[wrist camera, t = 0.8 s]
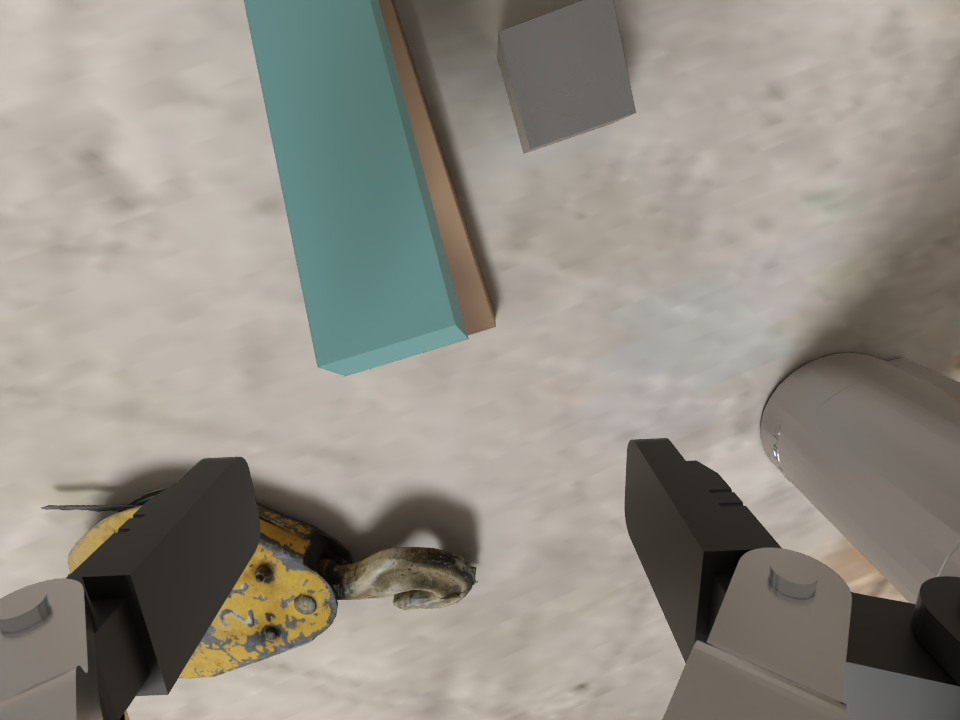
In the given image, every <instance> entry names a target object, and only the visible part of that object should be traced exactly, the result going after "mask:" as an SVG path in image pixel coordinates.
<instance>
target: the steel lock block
mask: <svg viewBox="0 0 960 720" xmlns="http://www.w3.org/2000/svg"><path fill="white" fill-rule="evenodd" d="M497 58H498V61H499V65H500V69H501V72H502V76H503V80H504V83H505V87H506V91H507V94H508V98H509V102H510V105H511V109H512V112H513V116H514V120H515V123H516V127H517V131H518V134H519V138H520V142H521V145H522V149H523V153H527V152H530V151H533V150H536V149H539V148H542V147H545V146H548V145H551V144H554V143H557V142H559V141H562V140H565V139H568V138H571V137H574V136H577V135H580V134H583V133H586V132H589V131H592V130H594V129H597V128H600V127H603V126H606V125H609V124H612V123H614V122H616V121H619V120H621V119H623V118H625V117H628V116H630V115H632V114H634V113H636V111H635V106H634V101H633V96H632V91H631V86H630V81H629V76H628V71H627V66H626V62H625V57H624V52H623V47H622V42H621V37H620V32H619V27H618V22H617V17H616V12H615V7H614V2H613V0H582V1H579V2H577V3H574V4H571V5H569V6H566V7H563V8H561V9H558V10H555V11H553V12H550V13H547V14H545V15H542V16H539V17H537V18H534V19H531V20H529V21H526V22H523V23H521V24H518V25H515V26H513V27H510V28H507V29H505V30H502V31H499V33H498V51H497Z"/></svg>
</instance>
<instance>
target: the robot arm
mask: <svg viewBox="0 0 960 720" xmlns="http://www.w3.org/2000/svg"><path fill="white" fill-rule="evenodd" d="M761 440H762V444H763V447H764V450H765V452H766V454H767V456H768V457H769V459H770V460H771V462H772V463H773V464H774V465H775V466H776V467H777V468H778V469H779V470H780V471H781V472H782V474H783V475H784V476H785V477H786V478H787V479H788V480H789V481H791V482H792V483H793V484H794V485H795V486H796V487H797V488H798V490H799V491H800V492H801V493H802V494H803V495H804V496H805V497H806V498H807V499H808V500H809V501H810V502H811V503H812V504H813V505H814V506H815V507H816V508H817V509H818V510H819V511H820V512H821V513H822V514H823V515H824V516H825V517H826V518H827V519H828V520H829V521H830V522H831V523H832V524H833V525H834V526H835V527H836V528H837V529H838V530H839V532H840V533H841V534H842V535H843V536H844V537H845V538H846V539H847V540H848V541H849V542H850V543H851V544H852V545H853V546H854V547H855V548H856V549H857V550H858V551H859V552H860V553H861V554H862V555H863V556H864V557H865V558H866V559H867V560H868V561H869V562H870V563H871V564H872V565H873V566H874V567H875V568H876V569H877V570H878V571H879V572H880V573H881V574H882V575H883V576H884V577H885V578H886V579H887V580H888V581H889V582H890V583H891V584H892V585H893V586H894V587H895V588H896V589H897V590H898V591H899V592H900V593H901V594H902V595H903V597H904V598H905V599H906V600H907V601H908V602H909V603H906V602H901V601H895V600H889V599H884V598H878V597H873V596H867V595H862V594H858V593H853V592H850V589H849V587H848V585H847V584H846V582H845V581H844V580H843V579H842V578H841V577H840V576H839V575H838V574H837V573H836V572H835V571H834V570H832V569H831V568H830V567H828V566H827V565H825V564H823V563H822V562H820V561H818V560H816V559H814V558H812V557H810V556H807V555H805V554H802V553H799V552H795V551H792V550H787V549H782V548H781V547H780V545H779V544H778V543H777V542H776V541H775V540H774V538H773V537H772V536H771V535H770V534H769V533H768V531H767V530H766V529H765V528H764V527H763V526H762V524H761V523H760V522H759V521H758V520H757V519H756V517H755V516H754V515H753V514H752V513H751V511H750V510H749V509H748V508H747V507H746V506H743V502H742V501H741V500H740V499H739V497H738V496H737V495H736V494H735V493H734V492H732V490H731V488H730V487H729V486H728V485H727V483H726V482H725V481H724V480H723V479H722V477H721V476H720V475H719V474H718V473H716V472H715V471H713V470H711V469H710V468H708V467H706V466H705V465H703V464H701V463H700V462H698V461H685V459H684V458H683V457H682V456H681V454H680V453H679V452H678V450H677V449H676V448H675V446H674V445H673V444H672V443H671V441H670V440H669V439H667V438H659V439H637V440H630V441H629V443H628V448H627V464H626V486H625V519H626V525H627V529H628V533H629V536H630V538H631V541H632V543H633V545H634V547H635V550H636V552H637V554H638V557H639V559H640V561H641V563H642V566H643V568H644V570H645V572H646V575H647V577H648V579H649V581H650V584H651V586H652V588H653V590H654V593H655V595H656V597H657V599H658V602H659V604H660V606H661V608H662V611H663V613H664V615H665V618H666V620H667V622H668V624H669V627H670V629H671V631H672V633H673V636H674V638H675V640H676V642H677V645H678V647H679V649H680V651H681V654H682V656H683V658H684V660H685V663H686V665H685V667H684V670H683V672H682V674H681V677H680V679H679V681H678V684H677V686H676V689H675V691H674V693H673V696H672V698H671V700H670V703H669V705H668V708H667V710H666V712H665V715H664V717H663V719H662V720H960V382H957V381H955V380H953V379H951V378H948V377H946V376H944V375H941V374H939V373H937V372H934V371H932V370H930V369H928V368H925V367H923V366H921V365H918V364H916V363H914V362H912V361H909V360H907V359H905V358H899V359H895V360H890V361H885V360H881V359H878V358H875V357H873V356H870V355H867V354H859V353H839V354H833V355H829V356H825V357H821V358H818V359H816V360H814V361H812V362H810V363H807V364H805V365H803V366H802V367H800V368H799V369H797V370H796V371H795V372H793V373H792V374H790V375H789V376H788V377H787V378H786V379H785V380H784V381H783V382H782V383H781V384H780V385H779V386H778V387H777V389H776V390H775V391H774V393H773V394H772V396H771V397H770V399H769V401H768V403H767V405H766V407H765V410H764V412H763V417H762V421H761ZM259 538H260V519H259V514H258V509H257V504H256V500H255V495H254V490H253V485H252V481H251V476H250V471H249V467H248V464H247V462H246V460H245V459H244V458H242V457H225V458H205V459H202V460H201V461H199V462H198V463H197V464H196V465H195V466H194V467H193V468H192V469H191V470H190V471H189V472H188V473H187V474H186V475H185V476H184V477H183V478H182V479H181V480H180V481H179V482H178V483H176V484H174V485H172V486H170V487H169V488H167V489H165V490H164V491H162V492H160V493H159V494H157V495H155V496H153V497H152V498H150V499H149V500H148V501H147V502H146V503H145V504H144V505H143V506H142V507H141V508H140V509H139V510H138V511H136V512H135V513H134V514H133V518H129V519H128V520H127V521H126V522H125V523H124V524H123V525H122V526H121V527H120V528H119V529H118V532H117V533H113V534H112V535H111V536H110V537H109V538H108V539H107V540H106V541H105V542H104V543H103V544H102V545H101V546H99V547H98V548H97V549H96V550H95V551H94V552H93V553H92V554H91V555H90V556H89V557H88V558H87V559H86V560H85V561H84V562H83V563H82V564H80V565H79V566H78V567H77V568H76V569H75V570H74V571H73V572H72V573H71V574H70V575H69V576H68V577H67V578H66V579H53V580H47V581H43V582H39V583H36V584H33V585H30V586H27V587H24V588H22V589H19V590H17V591H15V592H13V593H10V594H8V595H6V596H4V597H3V598H1V599H0V720H130V719H129V716H128V714H127V711H126V709H127V708H128V706H129V705H130V703H131V702H132V700H133V699H134V698H135V696H148V695H168V694H169V692H170V691H171V689H172V687H173V686H174V684H175V682H176V681H177V679H178V678H179V676H180V674H181V673H182V671H183V669H184V668H185V666H186V664H187V663H188V661H189V660H190V658H191V656H192V655H193V653H194V651H195V650H196V648H197V646H198V645H199V643H200V642H201V640H202V638H203V637H204V635H205V633H206V632H207V630H208V628H209V627H210V625H211V624H212V622H213V620H214V619H215V617H216V615H217V614H218V612H219V610H220V609H221V607H222V606H223V604H224V602H225V601H226V599H227V597H228V596H229V594H230V592H231V591H232V589H233V588H234V586H235V584H236V583H237V581H238V579H239V578H240V576H241V574H242V573H243V571H244V570H245V568H246V566H247V565H248V563H249V561H250V560H251V558H252V556H253V555H254V553H255V551H256V549H257V546H258V543H259Z"/></svg>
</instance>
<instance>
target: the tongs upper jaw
mask: <svg viewBox="0 0 960 720" xmlns="http://www.w3.org/2000/svg"><path fill="white" fill-rule="evenodd" d="M244 3H245V8H246V13H247V18H248V23H249V28H250V33H251V38H252V43H253V48H254V53H255V58H256V63H257V68H258V73H259V78H260V83H261V88H262V93H263V98H264V103H265V108H266V113H267V118H268V123H269V128H270V133H271V138H272V143H273V148H274V153H275V158H276V162H277V167H278V172H279V177H280V182H281V187H282V192H283V197H284V202H285V207H286V212H287V217H288V222H289V227H290V232H291V237H292V242H293V247H294V252H295V257H296V262H297V267H298V272H299V277H300V282H301V287H302V292H303V297H304V302H305V307H306V312H307V317H308V322H309V327H310V332H311V337H312V342H313V347H314V352H315V357H316V362H317V367H318V368H322V369H325V370H328V371H331V372H334V373H337V374H340V375H344V376H348V375H351V374H354V373H358V372H361V371H364V370H368V369H371V368H374V367H378V366H381V365H384V364H387V363H391V362H394V361H397V360H401V359H404V358H407V357H411V356H414V355H417V354H420V353H424V352H427V351H430V350H434V349H437V348H440V347H444V346H447V345H450V344H453V343H457V342H460V341H463V340H467V339H469V338H468V335H467V331H466V327H465V324H464V320H463V316H462V312H461V309H460V305H459V301H458V297H457V294H456V290H455V286H454V282H453V279H452V275H451V271H450V267H449V264H448V260H447V256H446V252H445V249H444V245H443V241H442V237H441V234H440V230H439V226H438V222H437V219H436V215H435V211H434V207H433V204H432V200H431V196H430V192H429V189H428V185H427V181H426V177H425V174H424V170H423V166H422V162H421V159H420V155H419V151H418V147H417V144H416V140H415V136H414V132H413V129H412V125H411V121H410V117H409V114H408V110H407V106H406V102H405V99H404V95H403V91H402V87H401V84H400V80H399V76H398V72H397V69H396V65H395V61H394V57H393V54H392V50H391V46H390V43H389V39H388V35H387V31H386V28H385V24H384V20H383V16H382V13H381V9H380V5H379V1H378V0H244Z"/></svg>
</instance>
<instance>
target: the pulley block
mask: <svg viewBox="0 0 960 720" xmlns="http://www.w3.org/2000/svg"><path fill="white" fill-rule="evenodd" d="M167 488H169V487H167ZM167 488H162V489H157V490H154V491H151V492H148V493H146V494H143V495H141V496H138V497H136V498H135V499H133V500H132V501H130V502H128V503H127V504H125V505H65V506H54V505H49V506H45V507H42V508H43V509H60V510H73V509H79V510H90V511H108V510H111V511H117V512H116V513H115V514H113V515H111V516H109V517H107V518H105V519H103V520H101V521H100V522H99V523H97V524H96V525H95V526H94V527H92V528H91V529H90V530H89V531H88V532H87V533H86V534H85V535H84V536H83V537H82V538H81V539H80V540H79V541H78V542H77V543H76V545H75V546H74V547H73V549H72V550H71V552H70V553H69V555H68V565H69V569H70V574H71V573H72V572H73V571H74V570H75V569H76V568H77V567H78V566H79V565H80V564H82V563H83V562H84V561H85V560H86V559H87V558H88V557H89V556H90V555H91V554H92V553H93V552H94V551H95V550H96V549H97V548H98V547H99V546H101V545H102V544H103V543H104V542H105V541H106V540H107V539H108V538H109V537H110V536H111V535H112V534H113V533H117V532H118V529H119V528H120V527H121V526H122V525H123V524H124V523H125V522H126V521H127V520H128V519H129V518H133V514H134V513H135V512H136V511H138V510H139V509H140V508H141V507H142V506H143V505H144V504H145V503H146V502H147V501H148V500H149V499H150V498H152V497H153V496H155V495H157V494H159V493H160V492H162V491H164V490H165V489H167ZM257 509H258V514H259V519H260V538H259V543H258V546H257V549H256V551H255V553H254V555H253V556H252V558H251V560H250V561H249V563H248V565H247V566H246V568H245V570H244V571H243V573H242V574H241V576H240V578H239V579H238V581H237V583H236V584H235V586H234V588H233V589H232V591H231V592H230V594H229V596H228V597H227V599H226V601H225V602H224V604H223V606H222V607H221V609H220V610H219V612H218V614H217V615H216V617H215V619H214V620H213V622H212V624H211V625H210V627H209V628H208V630H207V632H206V633H205V635H204V637H203V638H202V640H201V642H200V643H199V645H198V646H197V648H196V650H195V651H194V653H193V655H192V656H191V658H190V660H189V661H188V663H187V664H186V666H185V668H184V669H183V671H182V673H181V674H180V676H179V678H200V677H214V676H217V675H220V674H223V673H226V672H229V671H232V670H234V669H237V668H240V667H243V666H246V665H249V664H251V663H254V662H257V661H261V660H263V659H266V658H269V657H272V656H274V655H277V654H280V653H283V652H285V651H288V650H291V649H293V648H296V647H299V646H301V645H304V644H307V643H309V642H311V641H312V640H313V639H315V638H316V636H318V635H320V634H321V633H322V632H324V631H325V630H326V629H327V628H328V627H329V626H330V625H331V624H332V623H333V621H334V619H335V617H336V613H337V608H338V602H337V600H351V599H372V598H383V597H388V596H391V595H394V594H395V595H394V600H393V603H394V605H395V606H397V607H398V608H400V609H404V610H409V609H420V608H425V609H429V608H442V607H445V606H448V605H451V604H454V603H457V602H459V601H460V600H461V599H462V598H464V597H465V596H466V595H467V594H468V592H469V591H470V590H471V588H472V585H474V584H475V583H476V582H478V581H475V574H476V567H472V566H470V565H469V564H468V563H466V562H465V560H464V558H463V557H461V556H459V555H457V554H453V553H449V552H445V551H442V550H439V549H435V548H423V547H394V548H389V549H385V550H381V551H379V552H377V553H375V554H373V555H371V556H369V557H367V558H365V559H363V560H361V561H359V562H355V563H352V561H351V558H350V555H349V552H348V551H347V550H346V549H345V548H344V547H343V546H342V545H341V544H340V543H339V542H337V541H336V540H334V539H332V538H331V537H329V536H327V535H326V534H324V533H322V532H320V531H319V530H317V529H315V528H313V527H311V526H308V525H306V524H304V523H301V522H299V521H296V520H294V519H292V518H289V517H287V516H284V515H282V514H279V513H277V512H274V511H272V510H269V509H267V508H265V507H262V506H260V505H258V504H257ZM70 574H69V575H70ZM69 575H68V576H69Z"/></svg>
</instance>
